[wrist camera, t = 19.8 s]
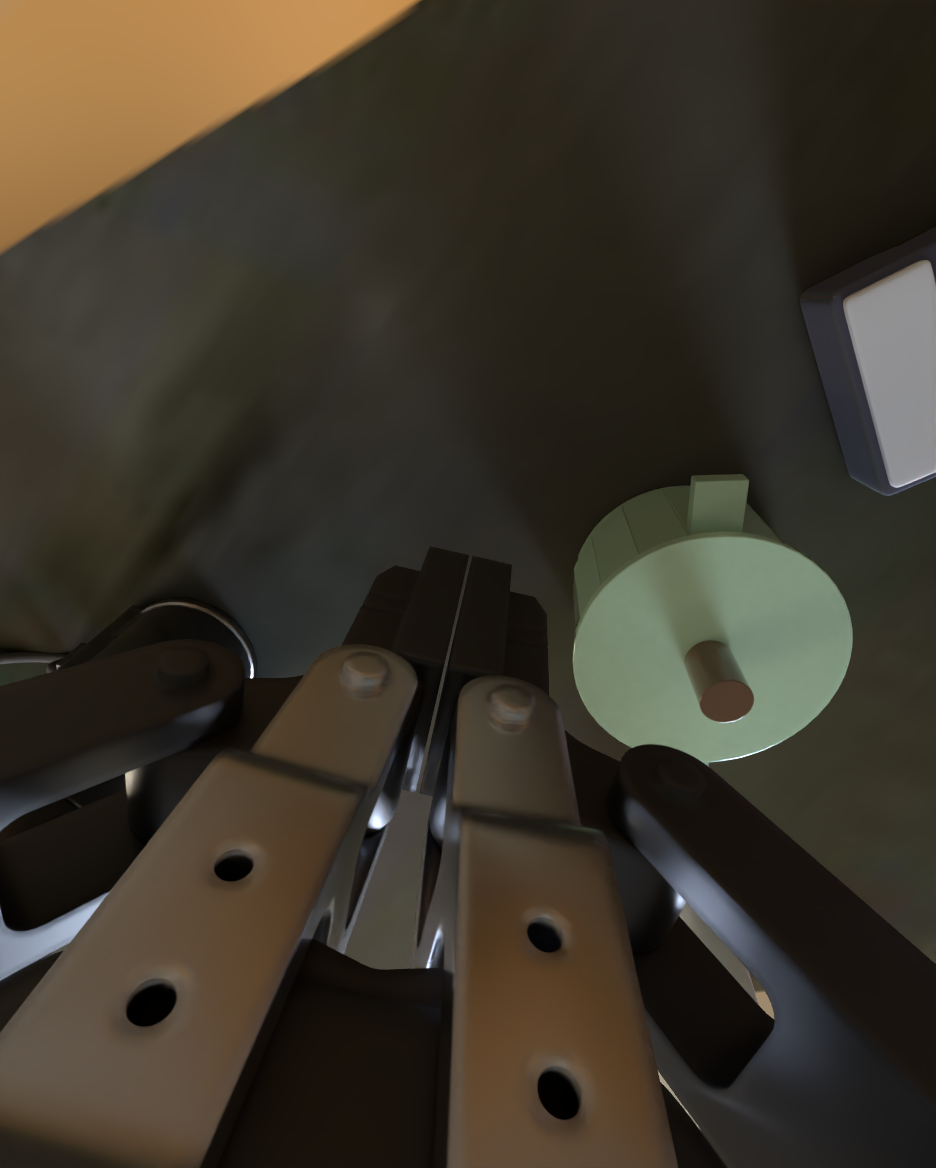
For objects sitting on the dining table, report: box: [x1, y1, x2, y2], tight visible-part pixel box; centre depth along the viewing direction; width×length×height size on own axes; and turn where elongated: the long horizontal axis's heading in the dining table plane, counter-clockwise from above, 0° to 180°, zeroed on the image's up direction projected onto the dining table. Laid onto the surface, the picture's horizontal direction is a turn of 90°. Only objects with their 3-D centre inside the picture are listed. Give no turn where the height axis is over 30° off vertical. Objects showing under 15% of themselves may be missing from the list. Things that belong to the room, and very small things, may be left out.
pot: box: [573, 474, 784, 766], centre depth 36 cm, size 13×18×8 cm
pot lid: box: [572, 531, 852, 762], centre depth 31 cm, size 14×14×5 cm
